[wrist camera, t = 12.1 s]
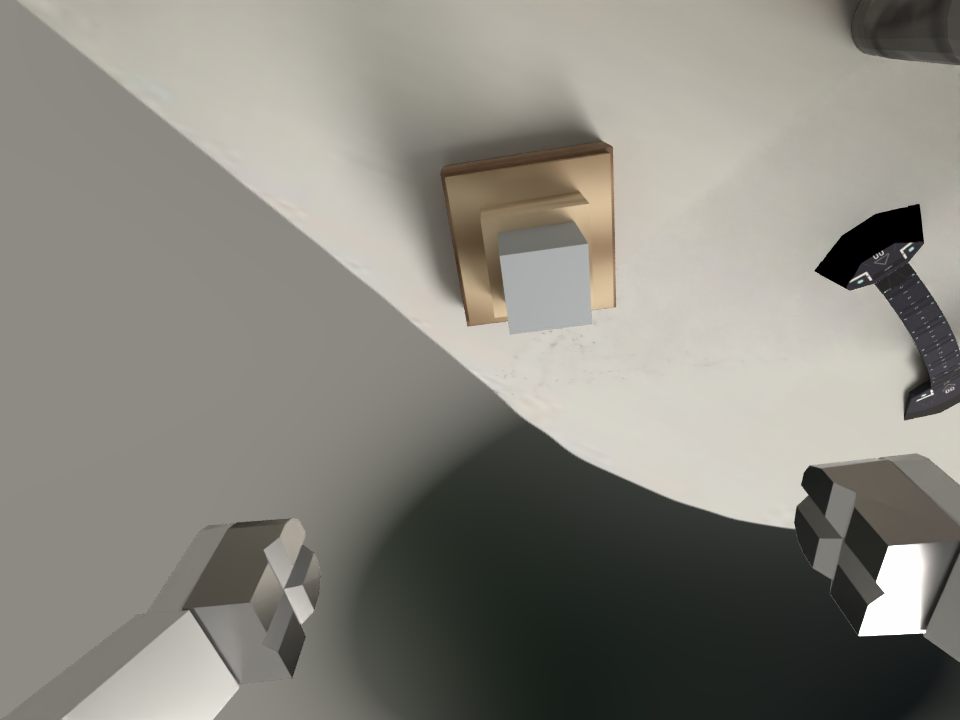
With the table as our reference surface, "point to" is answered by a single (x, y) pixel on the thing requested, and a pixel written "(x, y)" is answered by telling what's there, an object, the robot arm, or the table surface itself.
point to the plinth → (526, 180)
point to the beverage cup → (909, 30)
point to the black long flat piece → (901, 297)
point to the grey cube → (545, 277)
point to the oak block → (529, 216)
